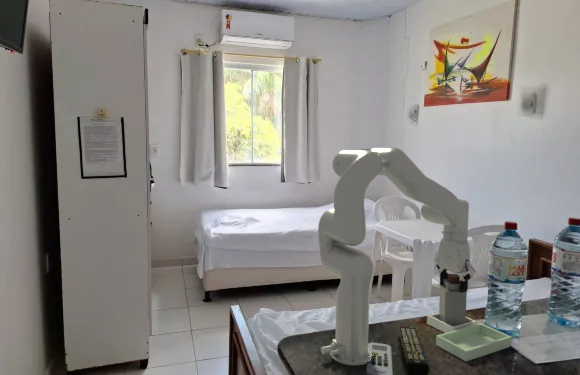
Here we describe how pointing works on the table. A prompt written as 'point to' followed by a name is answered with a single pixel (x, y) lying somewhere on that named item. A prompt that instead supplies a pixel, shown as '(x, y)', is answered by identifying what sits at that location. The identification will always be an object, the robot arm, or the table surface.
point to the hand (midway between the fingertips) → (453, 287)
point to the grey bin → (444, 327)
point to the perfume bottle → (452, 301)
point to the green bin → (473, 341)
